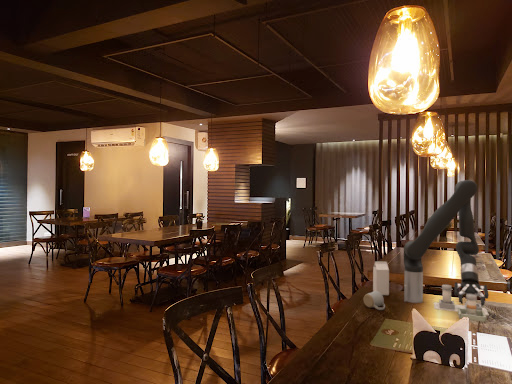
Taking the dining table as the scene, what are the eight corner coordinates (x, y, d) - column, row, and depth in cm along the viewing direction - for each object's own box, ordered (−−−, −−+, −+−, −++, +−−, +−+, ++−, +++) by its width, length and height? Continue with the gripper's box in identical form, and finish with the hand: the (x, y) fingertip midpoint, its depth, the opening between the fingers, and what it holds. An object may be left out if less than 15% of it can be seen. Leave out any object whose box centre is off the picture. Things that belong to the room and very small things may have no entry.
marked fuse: (466, 318, 178) (466, 295, 178) (465, 315, 182) (465, 293, 182) (477, 319, 177) (477, 296, 176) (476, 316, 181) (476, 294, 180)
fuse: (442, 307, 193) (442, 286, 193) (441, 305, 197) (441, 284, 197) (451, 308, 192) (452, 287, 191) (451, 306, 196) (451, 285, 195)
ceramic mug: (362, 305, 199) (362, 291, 199) (372, 303, 204) (372, 289, 203) (378, 311, 190) (378, 296, 190) (388, 309, 195) (389, 294, 194)
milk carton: (388, 295, 218) (389, 262, 218) (376, 295, 218) (376, 262, 218) (385, 291, 225) (385, 260, 225) (373, 291, 226) (373, 260, 225)
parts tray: (459, 320, 177) (459, 314, 177) (457, 314, 186) (457, 308, 186) (486, 324, 173) (486, 317, 173) (483, 317, 182) (483, 310, 181)
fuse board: (434, 310, 191) (434, 303, 191) (433, 303, 202) (433, 297, 202) (489, 317, 182) (489, 310, 182) (485, 309, 193) (485, 303, 193)
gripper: (453, 269, 189) (455, 298, 179) (486, 272, 183) (490, 302, 173) (453, 277, 194) (454, 306, 184) (485, 280, 188) (488, 310, 178)
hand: (471, 304), depth 178 cm, fingers open, 8 cm apart
